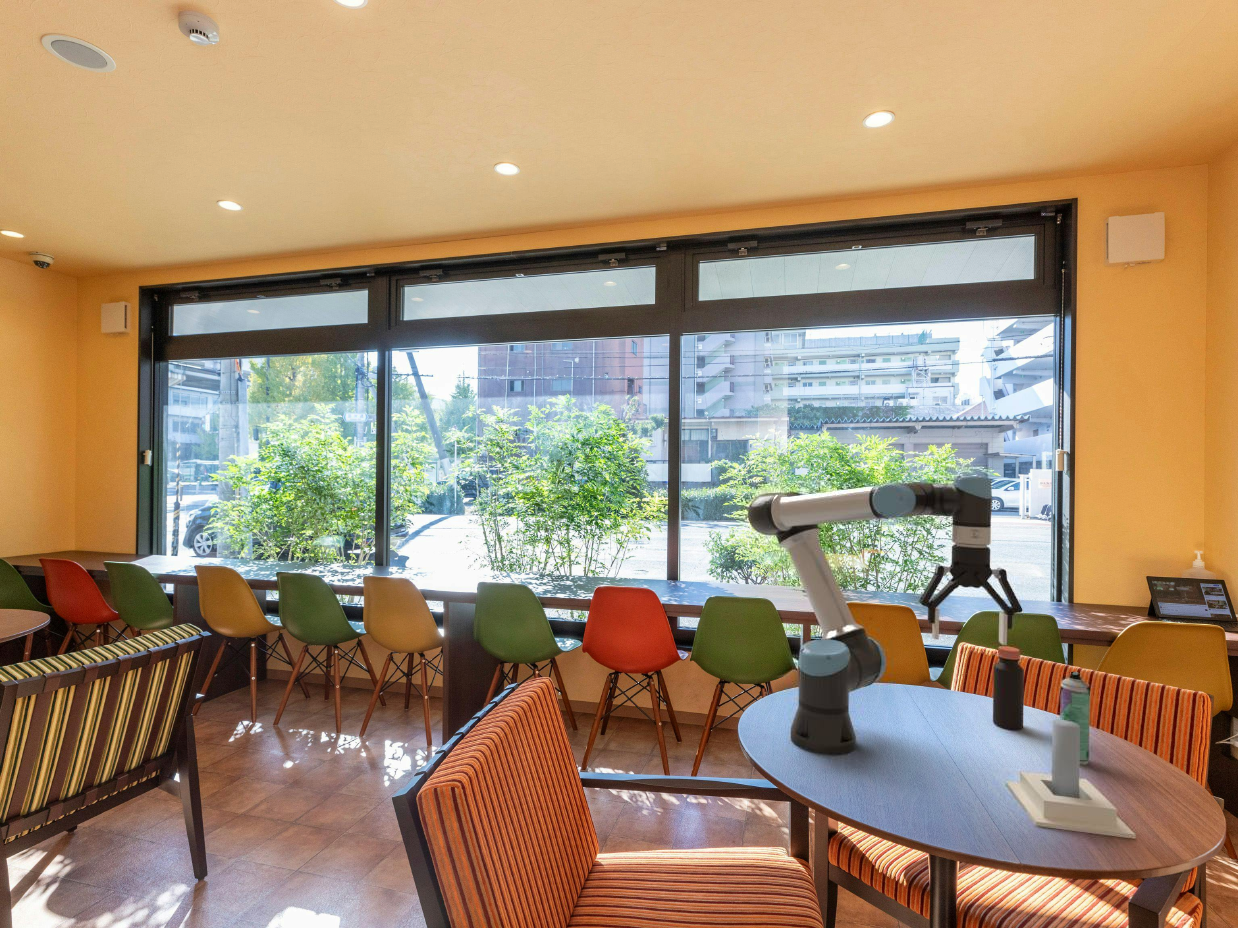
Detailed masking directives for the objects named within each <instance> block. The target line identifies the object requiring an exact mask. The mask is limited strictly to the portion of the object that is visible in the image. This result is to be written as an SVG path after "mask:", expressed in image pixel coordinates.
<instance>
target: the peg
mask: <svg viewBox="0 0 1238 928" xmlns="http://www.w3.org/2000/svg"><path fill="white" fill-rule="evenodd" d="M1051 729H1052V736H1051V737H1052V739H1051V740H1052V742H1051V743H1052V744H1051V747H1052V750H1051V775H1052V794H1053V795H1056V796H1064V797H1072V798H1079V778H1080V766H1081V764H1080V726H1079V725H1078V724H1076V723H1073V722H1070V721H1066V720H1060V719H1054V720H1052V728H1051Z"/></svg>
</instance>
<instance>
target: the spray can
mask: <svg viewBox="0 0 1238 928" xmlns="http://www.w3.org/2000/svg"><path fill="white" fill-rule="evenodd" d="M1080 675H1081V673H1080V672H1078V671H1070V675H1069V676H1067V678H1063V679H1062V680H1061V683H1060V715H1059V716H1060V718H1059V720H1066V721H1070V722H1073V723H1076V724H1078V725H1079V726H1080V766H1081V765H1085V766H1086V765H1088V764H1090V710H1091V709H1090V707H1091V705H1090V704H1091V701H1090V700H1091V699H1090V697H1091V692H1090V690H1091V688H1090V684H1089V683H1087V682H1085V681H1084V679H1083V678H1082V677H1081V676H1080Z"/></svg>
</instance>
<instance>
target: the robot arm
mask: <svg viewBox="0 0 1238 928" xmlns="http://www.w3.org/2000/svg"><path fill="white" fill-rule="evenodd" d="M992 492H993V490H992V481H991V479H990V478H989V477H988V476H984V475H983V476H982V475H981V476H980V475H955V476H954V478H953V481H952V483H936V482H935V483H933V482H921V481H920V482H918V481H912V482H905V483H904V482H899V481H898V482H897V481H896V482H888V483H884V484H881V485H873V486H871V485H870V486H865V487H864V486H863V487H858V488H850V489H848V488H847V489H841V490H839V489H838V490H834V491H825V492H818V493H810V494H804V493H801V492H796V491H790V492H767V493H762V494H759V495H757V496H756V497H755V498H753V499H752V501H751V502H750V504H749V506H748V509H747V519H748V521H749V522H748V523H749V524H750V526H751V527H752V529H754V530H755V531H756V532H757V533H759V534H761V535H764V536H775V537H776V539H777V542H778V544H779V546H780V547H781V548H784V549H786V550H787V551H788V554H789V556H790V558H791V561H792V563H793V566H794V568H795V571H796V572H797V575H798V577H799V580H800V582H801V584H802V586H803V589H804V591H805V593H806V596H807V598H808V601H809V603H810V605H811V607H812V610H813V613H814V615H815V617H816V620H817V621H818V624H819V627H820V629H821V631H822V638H821V639H814V640H810V641H807V642H804V644H803V645H802V646H801V647H800V650H799V657H798V660H797V663H798V703H797V704H798V706H797V709H796V713H795V715H794V716H793V720H792V723H791V727H790V740H791V741H792V743H793V744H794V745H796V746H798V747H800V748H801V749H803V750H806V751H807V752H808V751H809V752H813V753H816V754H822V755H831V756H832V755H833V756H834V755H835V756H837V755H846V754H850V753H852V752H853V751H855V749H856V748H857V736H856V732H855V729H854V726H853V722H852V720H851V716H850V711H849V709H850V707H849V704H850V701H849V700H850V693H852V692H854V691H857V690H860V689H861V688H866V687H868V686H871V685H873V684H874V683H876V682H878V680H880V679H881V678H882V677H883V675H884V673H885V670H886V667H887V659H886V653H885V651H884V649H883V646H881V644H880V643H879V642H878V641H877V640H874V639H873V638H871V637H870V636H868V634H867V631H866V629H865V628H864V626H862V625H860V624H858V623H856V621H855V619H854V617H853V615H852V612H851V611H850V608H849V606H848V604H847V602H846V600H845V597H844V595H843V593H842V591H841V588H840V585H839V583H838V581H837V579H836V577H835V575H834V573H833V570H832V567H831V566H830V563H829V561H828V559H827V557H826V555H825V552H824V550H823V547H822V545H821V543H820V541H819V535H820V533H821V530H820V528H819V525H821V524H831V523H832V524H833V523H844V522H853V521H854V522H855V521H866V520H868V521H869V520H879V519H896V518H906V517H919V516H937V517H945V518H946V517H948V518H950V517H951V518H952V530H951V533H952V534H951V535H952V536H951V542H952V543H954V544H952V546H951V562H950V566H945V565H942V564H935V569H934V574H933V576H932V578H931V579H930V581H929V582H928V585H927V587H926V588H925V589H924V591H923V593H922V595H921V596H920V597H919V599H918V603H919V604H920V605H922V606H923V607H926V608H927V621H928V623H930V624H931V625H932V626H931V628H932V629H931V630H932V631H931V636H932V639H934V640H940V636H939V635H940V609H938V607H939V606H940V604H941V603H943V602H944V600H946V598H948V596H950V594H951V593H953V592H955V590H956V589H957V588H959V587H960V586H961V587H963V588H975V589H980V588H981V587H982V588H983V589H984V590H985V591H986V592H987V594H988V595H990V598H992V599H993V601H994V602H995V603H996V604H997V605H998V606H999V608H1000V609H1001V610H1002V611H1003V612H1002V611H1001V612H999V615H998V616H999V618H998V619H999V620H998V621H999V622H998V642H999V643H1000V644H1001V645H1002V646H1008V630H1011V629H1012V628H1013V616H1014V615H1015V614H1017V613H1022V612H1023V608H1022V605H1021V603H1020V601H1019V600H1018V598H1017V596H1016V594H1015V591H1014V590H1013V588H1012V586H1011V584H1010V582H1009V580H1008V575H1007V570H1006V569H1004V568H1002V567H997V568H993V569H992V568H991V548H990V547H989V545H991V541H992V540H991V532H992V527H991V523H992V522H991V521H992V508H993V507H992V503H993V493H992ZM948 573H949V574H950V575H951V576H952V578H951V579H950V580H948V581H947V583H946V584H945V585H944V586H943V587H942V588H941V589H940V590H939V591H938V592H937V594H935V595H934V593H935V592H936V590H937V589H938V587H939V585H940V583H941V582H942V580H943V578H944V577H945V576H947V574H948ZM992 575H993V576H994V578H995V579H997V580H998V583H999V585H1000V587H1001V588H1002V589H1001V590H1003V592H1004V594H1005V596H1006V599H1007V600H1008V602H1009V604H1010V606H1009V604H1008V603H1007V602H1006V601H1005V600H1004V599H1003V598H1002V596H1001V595H1000V594H999V593H998V592H997V591H996V590H995V588H994V587H993V586H992V584H991V583H990V582H988V581H989V579H990V578H991V577H992Z"/></svg>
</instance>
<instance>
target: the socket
mask: <svg viewBox="0 0 1238 928" xmlns="http://www.w3.org/2000/svg"><path fill="white" fill-rule="evenodd" d="M1005 787H1006V788H1007V789H1008V791H1010V793H1011V794H1012V796H1013V797H1014V799H1015V800H1016V801H1017V803H1018V804H1019V805H1020V806H1021V807H1022V810H1024V812H1025V814H1027V816H1028V818H1029V819H1030V820H1031V822H1033V824H1034V825H1035V827H1043V828H1048V829H1049V828H1050V829H1056V830H1057V829H1058V830H1064V831H1071V832H1072V831H1073V832H1081V833H1087V834H1088V833H1089V834H1096V835H1102V836H1110V837H1111V836H1112V837H1118V838H1126V839H1133V840H1135V839H1136V833H1135V832H1134V831H1132V830H1131V829H1130V828H1129V826H1127V824H1126V823H1124V822H1123V821H1122V820H1121V818H1119V817H1118V808H1116V807H1115V806H1114V805H1113V804H1112V803H1111V802H1110V801H1109V800H1108V799H1107V798H1106V797H1105V796H1104V795H1103V794H1102V793H1101V792H1100V791H1099V790H1098V789H1097V788H1096V787H1095V786H1094V785H1093V784H1092V783H1091V782H1090V781H1089V780H1087V778H1080V777H1079V798H1072V797H1064V796H1056V795H1053V794H1052V774H1045V773H1038V772H1037V773H1036V772H1029V771H1019V782H1016V781H1008V780H1007V781H1006V780H1005Z"/></svg>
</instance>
